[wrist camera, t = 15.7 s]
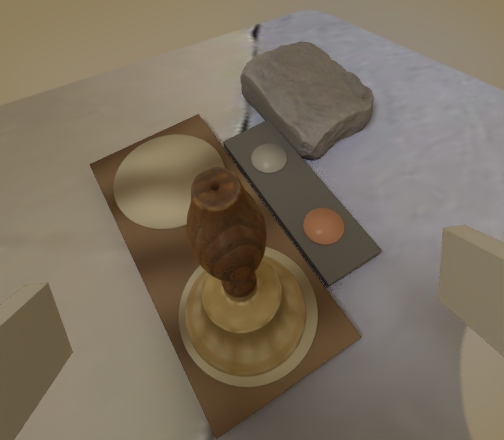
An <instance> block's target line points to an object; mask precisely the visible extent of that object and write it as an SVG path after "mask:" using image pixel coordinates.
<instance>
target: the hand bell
mask: <svg viewBox="0 0 504 440" xmlns="http://www.w3.org/2000/svg"><path fill="white" fill-rule="evenodd" d="M186 233H187V239H188V243H189V245H190V248H191V250H192V252H193V254H194V256H195V258H196V260H197V261H198V263H199V264H200V265H201V266H202V268H203V269H204V271H203V272H202V273H201V274H200V275H199V277H198V278H197V279H196V281H195V282H194V284H193V286H192V288H191V290H190V292H189V295H188V298H187V303H186V308H185V323H186V329H187V333H188V336H189V339H190V341H191V343H192V345H193V347H194V349H195V350H196V352H197V353H198V354H199V356H200V357H201V358H202V359H203V360H204V361H205V362H206V363H207V364H209V365H210V366H212V367H213V368H215V369H217V370H219V371H221V372H223V373H226V374H229V375H234V376H240V377H249V376H257V375H261V374H265V373H267V372H269V371H271V370H273V369H275V368H277V367H278V366H280V365H281V364H282V363H284V362H285V361H286V360H287V359H288V358H289V357H290V356H291V355H292V353H293V352H294V350H295V349H296V348H297V347H298V345H299V343H300V340H301V338H302V335H303V332H304V329H305V323H306V303H305V299H304V295H303V292H302V290H301V287H300V285H299V283H298V282H297V280H296V279H295V277H294V276H293V275H292V273H291V272H290V271H289V270H288V269H287V268H286V267H285V266H283V265H282V264H281V263H279V262H277V261H276V260H274V259H272V258H270V257H267V256H265V255H264V253H265V249H266V239H267V233H266V224H265V219H264V217H263V214H262V212H261V210H260V208H259V206H258V205H257V203H256V202H255V200H254V199H253V198H252V196H251V195H250V194H249V193H248V192H247V191H246V190H245V189H244V187H243V186H242V183H241V181H240V180H239V178H238V176H237V175H236V174H235V173H234V172H232V171H231V170H229V169H227V168H224V167H213V168H210V169H208V170H206V171H203V172H202V173H200V174H198V175H197V176H196V177H195V179H194V181H193V184H192V186H191V203H190V207H189V210H188V214H187V224H186Z"/></svg>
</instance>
